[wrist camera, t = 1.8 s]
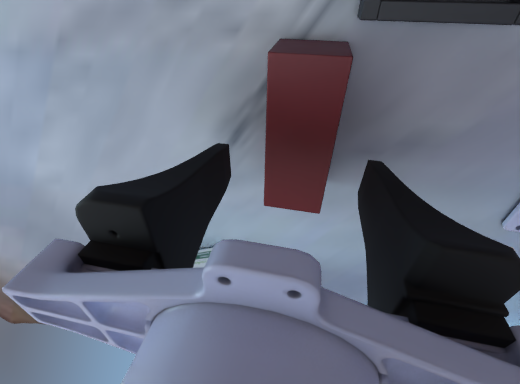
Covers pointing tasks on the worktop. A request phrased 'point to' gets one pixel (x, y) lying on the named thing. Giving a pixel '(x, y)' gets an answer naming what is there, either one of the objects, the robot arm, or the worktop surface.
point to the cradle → (442, 11)
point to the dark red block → (303, 119)
